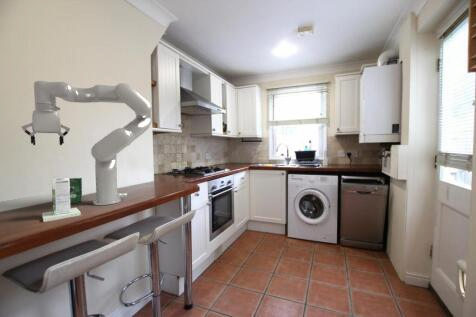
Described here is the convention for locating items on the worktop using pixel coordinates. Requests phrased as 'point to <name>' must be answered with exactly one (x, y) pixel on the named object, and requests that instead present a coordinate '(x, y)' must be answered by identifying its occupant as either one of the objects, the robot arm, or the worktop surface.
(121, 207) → the worktop surface
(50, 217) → the sage board
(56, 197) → the syrup box
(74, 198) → the coffee box
